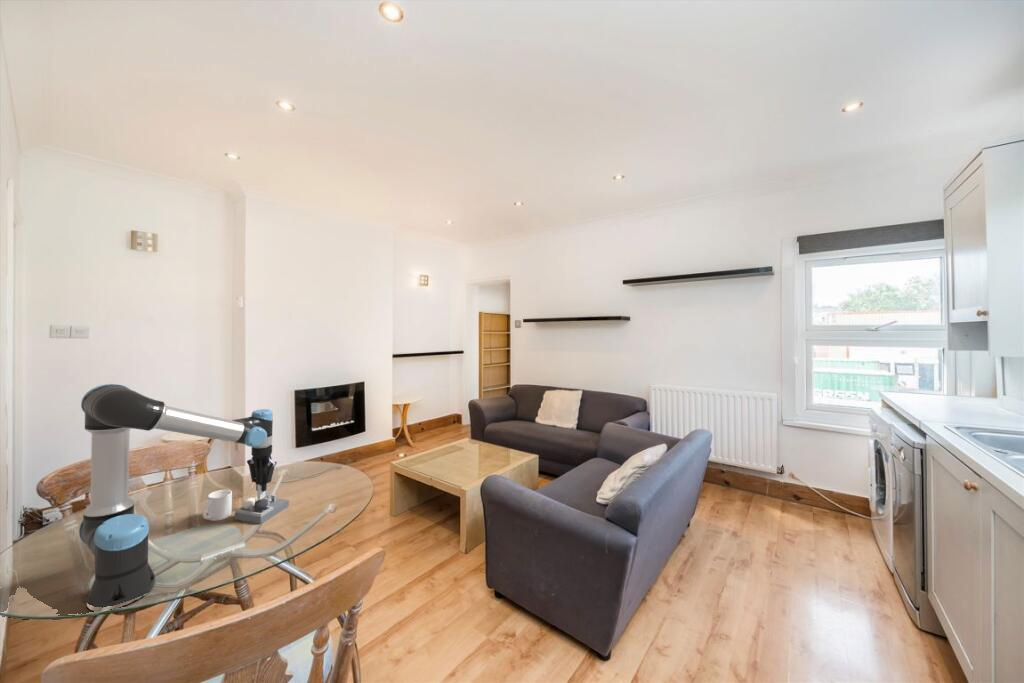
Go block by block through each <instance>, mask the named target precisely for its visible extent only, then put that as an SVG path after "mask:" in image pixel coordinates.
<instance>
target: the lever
mask: <svg viewBox="0 0 1024 683" xmlns="http://www.w3.org/2000/svg"><path fill="white" fill-rule="evenodd" d="M271 495H272V494H271V493H270V490H269V487H268V486H267V489H266V491H265V496H266V497H267V498H269V499H270V502H272V501H273V498H271Z"/></svg>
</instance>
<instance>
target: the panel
mask: <svg viewBox="0 0 1024 683" xmlns="http://www.w3.org/2000/svg"><path fill="white" fill-rule="evenodd" d="M270 495H271V498H273V501H272V502H270V499H269V498H267V497H266V495H265V497H264V498H262V499H265V500H267V508H266V509H264V510H261V511H255V506H254V507H252V508H249V509H243V505H242V506H241V507H239V508H237V509H235V512H234V520H235V521H241V522H245V523H246V522H247V523H253V524H258V525H262V524H263V523H264V522H266V521H268V520H269V519H271V518H273V517H274V516H276V515H278V514H279V513H281V512H282V511H284V510H285V509H288V508H289V507H290V500H289V499H284V498H278V497H277V495H276V494H270ZM258 500H259V499H256V501H258ZM260 500H261V499H260ZM288 506H289V507H288Z"/></svg>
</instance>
